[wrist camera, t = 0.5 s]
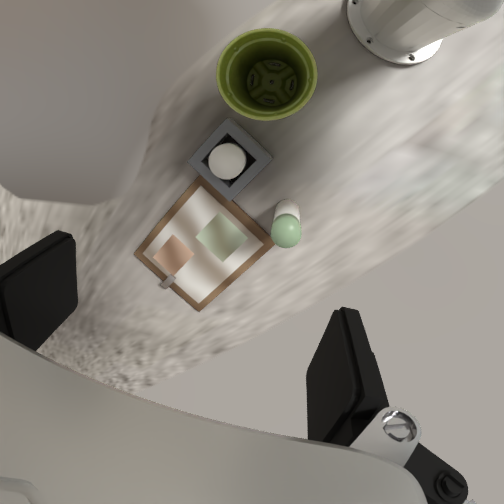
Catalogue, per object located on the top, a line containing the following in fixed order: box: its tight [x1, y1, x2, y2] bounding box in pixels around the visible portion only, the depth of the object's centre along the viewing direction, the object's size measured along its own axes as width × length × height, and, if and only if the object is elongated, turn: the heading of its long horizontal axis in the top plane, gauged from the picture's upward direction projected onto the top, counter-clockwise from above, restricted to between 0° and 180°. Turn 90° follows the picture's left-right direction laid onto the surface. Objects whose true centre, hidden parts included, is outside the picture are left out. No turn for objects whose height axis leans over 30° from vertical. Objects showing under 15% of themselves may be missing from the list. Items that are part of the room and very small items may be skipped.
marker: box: [271, 199, 301, 248], centre depth 36 cm, size 3×3×8 cm
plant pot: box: [216, 28, 318, 121], centre depth 30 cm, size 9×9×9 cm
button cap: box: [209, 143, 247, 179], centre depth 35 cm, size 4×4×2 cm
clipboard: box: [134, 175, 275, 312], centre depth 43 cm, size 16×13×1 cm
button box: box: [187, 118, 273, 202], centre depth 37 cm, size 7×7×3 cm
